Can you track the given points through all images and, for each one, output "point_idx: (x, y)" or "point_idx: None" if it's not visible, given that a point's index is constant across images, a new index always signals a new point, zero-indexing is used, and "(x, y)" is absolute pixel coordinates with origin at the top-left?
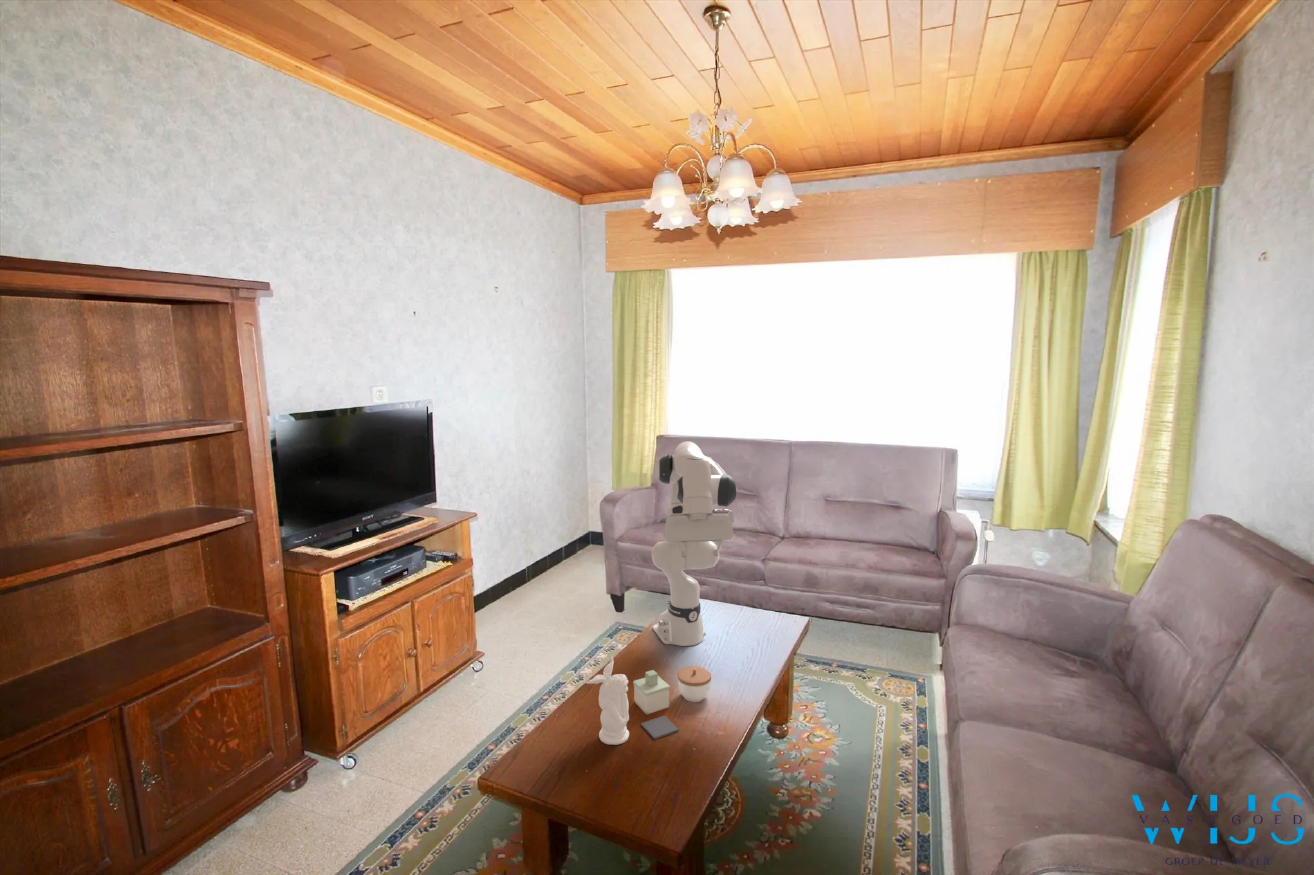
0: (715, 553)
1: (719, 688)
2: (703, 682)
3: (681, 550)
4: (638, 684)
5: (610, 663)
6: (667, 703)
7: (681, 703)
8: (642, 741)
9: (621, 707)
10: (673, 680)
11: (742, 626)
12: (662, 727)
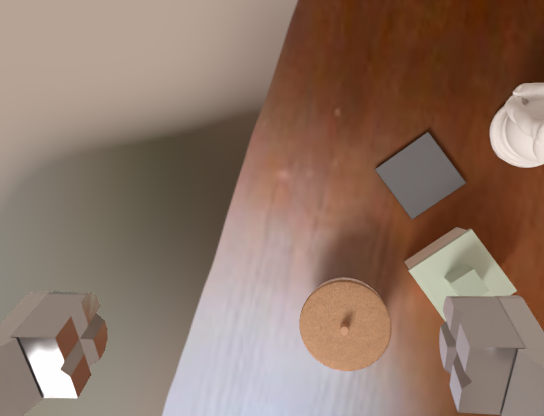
0: (48, 305)
1: (285, 350)
2: (319, 288)
3: (538, 351)
4: (499, 273)
5: None
6: (408, 261)
7: (374, 280)
8: (454, 122)
9: (536, 113)
10: (400, 383)
11: None
12: (412, 171)
